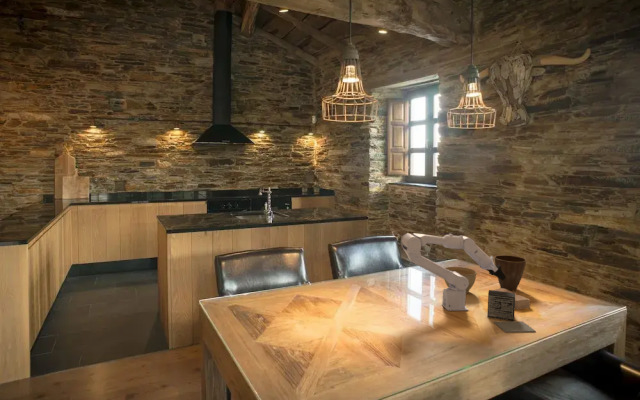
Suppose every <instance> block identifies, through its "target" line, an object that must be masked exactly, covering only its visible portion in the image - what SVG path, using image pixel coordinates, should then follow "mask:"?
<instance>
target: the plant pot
mask: <svg viewBox="0 0 640 400" xmlns="http://www.w3.org/2000/svg"><path fill="white" fill-rule="evenodd" d="M526 262H527V259H526V258H523V257H520V256H516V255H508V254H507V255H506V254H502V255H500V254H499V255H495V256H494V264H495V266H497V265H500V266H501V270H502V272H503V273H504V275H505V277H506V278H505V279H504V280H501V279H499V278H498V277H497V279H498V280H497V281H498V283H499V287H500V288H504V289H507V290H509V291H511V292H514V291H516V290H517V289H518V287H519V286H520V285H519V284H520V282H521V281H522V278H523V274H524V271H525V267H526V265H527V263H526Z"/></svg>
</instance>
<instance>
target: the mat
mask: <svg viewBox="0 0 640 400" xmlns="http://www.w3.org/2000/svg"><path fill="white" fill-rule="evenodd" d="M493 324H495V325H496V326H497V327H498V328H500V330H502V331H503V332H504V333H536V330H535V329H534V328H532V326H530V325H528V324H527V323H525V322H524V321H523V320H522V321H520V320H519V321H515V320H514V321H510V320H508V321H493Z"/></svg>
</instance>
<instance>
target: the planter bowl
mask: <svg viewBox="0 0 640 400" xmlns="http://www.w3.org/2000/svg"><path fill="white" fill-rule="evenodd" d="M444 268H445V269H447V270H450V271H456V272H458V273H459V274H460V275H462V276H464V277H466V278H467V279H468V281H469V285H468V287H467V289H466V294H468V293H470V290H471V289H472V287H473V286H474V284H475V283H476V278H477V274H478V273H477V271H476V270H475V269H473V268H469V267H465V266H464V267H463V266H446V267H444ZM443 280H444V282H445V284H446V286H447V288H449V283H448V281H446V280H445V279H443Z"/></svg>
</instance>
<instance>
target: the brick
mask: <svg viewBox="0 0 640 400" xmlns="http://www.w3.org/2000/svg"><path fill="white" fill-rule="evenodd" d="M493 290H494V291H502V292H510V293H513V291H510V290H507V289H504V288H501V287H500V288H496V289H493ZM530 302H531V299H529V298H528V297H526V296H523V295H520V294H516V293H515V310H524V309H530V308H531V307H530V306H531V303H530Z"/></svg>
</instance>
